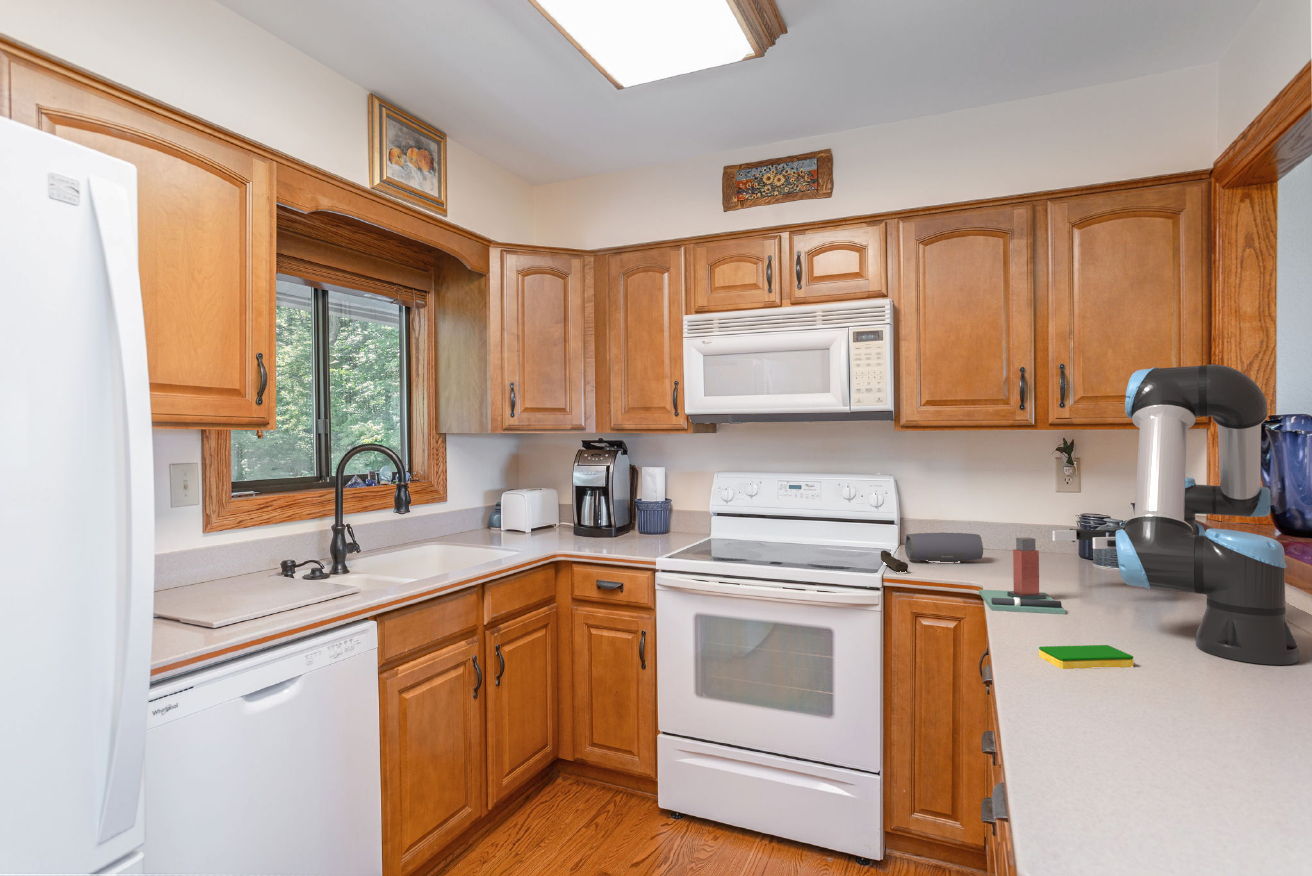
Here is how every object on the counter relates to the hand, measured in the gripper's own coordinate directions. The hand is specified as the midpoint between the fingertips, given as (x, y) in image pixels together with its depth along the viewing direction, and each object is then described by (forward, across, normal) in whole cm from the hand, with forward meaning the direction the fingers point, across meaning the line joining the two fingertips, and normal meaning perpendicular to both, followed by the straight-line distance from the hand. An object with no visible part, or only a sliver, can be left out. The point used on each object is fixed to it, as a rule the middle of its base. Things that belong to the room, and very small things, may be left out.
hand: (1072, 539), depth 175 cm
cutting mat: (+15, 0, -16) cm, 22 cm away
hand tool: (+25, +48, -16) cm, 57 cm away
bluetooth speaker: (+3, +53, -15) cm, 55 cm away
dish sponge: (+33, -41, -17) cm, 56 cm away
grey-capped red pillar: (+13, +1, -15) cm, 19 cm away
